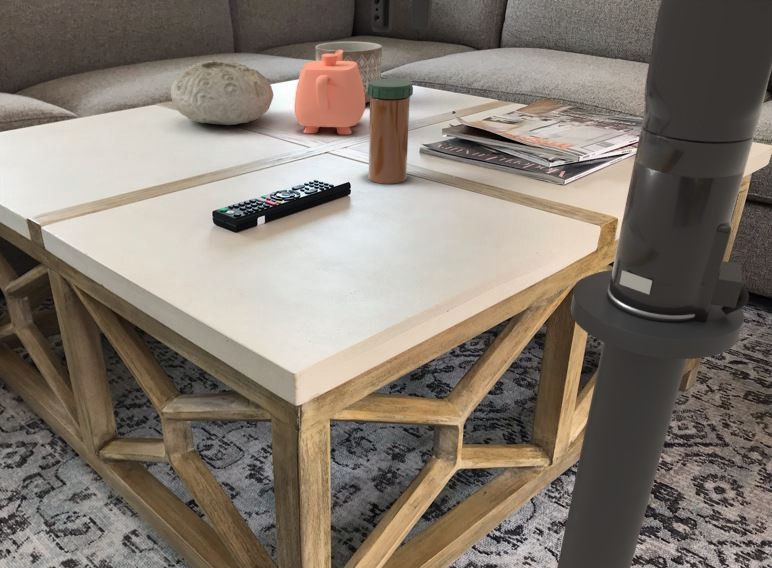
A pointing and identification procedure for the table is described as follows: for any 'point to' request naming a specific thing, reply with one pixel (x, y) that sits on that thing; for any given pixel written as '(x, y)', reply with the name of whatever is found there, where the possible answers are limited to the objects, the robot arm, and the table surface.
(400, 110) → the jar
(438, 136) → the table surface
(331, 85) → the teapot
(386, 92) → the lid
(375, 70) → the planter
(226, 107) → the grey rounded lump
